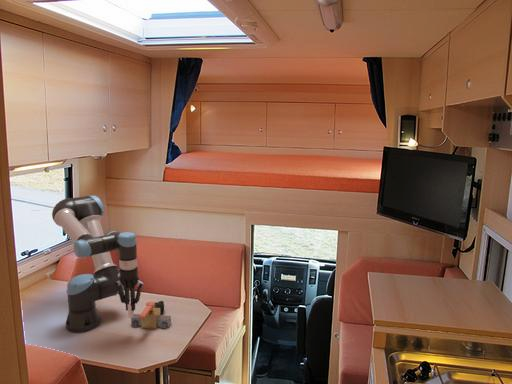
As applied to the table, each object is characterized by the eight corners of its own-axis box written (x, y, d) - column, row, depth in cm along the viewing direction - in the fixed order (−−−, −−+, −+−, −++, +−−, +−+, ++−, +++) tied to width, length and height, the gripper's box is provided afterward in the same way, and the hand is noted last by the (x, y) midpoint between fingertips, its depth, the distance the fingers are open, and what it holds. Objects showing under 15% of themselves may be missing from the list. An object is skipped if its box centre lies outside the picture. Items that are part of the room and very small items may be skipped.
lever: (147, 304, 193) (147, 301, 192) (156, 304, 192) (156, 301, 192) (137, 319, 179) (137, 315, 179) (146, 319, 179) (146, 316, 178)
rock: (150, 321, 195) (149, 310, 194) (144, 312, 204) (144, 301, 203) (168, 317, 200) (168, 306, 199) (162, 309, 208) (162, 298, 207)
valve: (130, 327, 190) (129, 309, 188) (135, 320, 196) (134, 302, 195) (167, 329, 188) (167, 311, 187) (171, 321, 195) (171, 304, 194)
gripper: (110, 270, 175) (113, 320, 179) (139, 271, 174) (142, 321, 178) (117, 263, 182) (120, 312, 186) (145, 265, 181) (147, 313, 185)
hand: (131, 316), depth 182 cm, fingers closed
